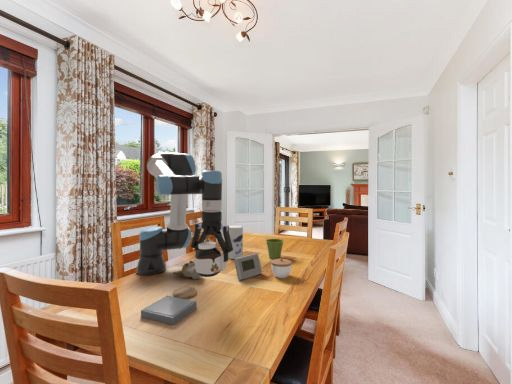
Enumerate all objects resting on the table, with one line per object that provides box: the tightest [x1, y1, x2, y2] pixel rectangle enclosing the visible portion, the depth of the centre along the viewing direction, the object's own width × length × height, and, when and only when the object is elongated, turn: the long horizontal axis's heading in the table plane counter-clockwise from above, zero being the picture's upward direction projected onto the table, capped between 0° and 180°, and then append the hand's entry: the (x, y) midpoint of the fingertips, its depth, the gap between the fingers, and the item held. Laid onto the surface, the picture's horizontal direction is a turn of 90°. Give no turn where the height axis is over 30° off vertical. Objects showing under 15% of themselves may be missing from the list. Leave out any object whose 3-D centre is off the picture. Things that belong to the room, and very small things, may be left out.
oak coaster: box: [172, 286, 198, 300], centre depth 119 cm, size 10×10×1 cm
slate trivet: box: [140, 295, 197, 326], centre depth 102 cm, size 14×14×3 cm
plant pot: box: [265, 238, 285, 260], centre depth 177 cm, size 12×12×11 cm
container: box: [228, 225, 244, 260], centre depth 177 cm, size 10×10×20 cm
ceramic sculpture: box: [173, 260, 202, 280], centre depth 140 cm, size 11×9×15 cm
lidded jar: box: [270, 257, 293, 279], centre depth 142 cm, size 11×11×9 cm
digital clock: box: [233, 252, 263, 281], centre depth 142 cm, size 16×9×11 cm, turn 121°
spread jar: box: [194, 241, 222, 278], centre depth 107 cm, size 12×11×12 cm
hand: (211, 267), depth 107 cm, fingers closed on spread jar, 10 cm apart
